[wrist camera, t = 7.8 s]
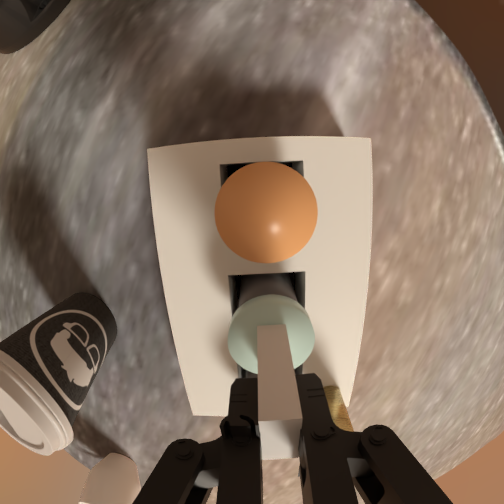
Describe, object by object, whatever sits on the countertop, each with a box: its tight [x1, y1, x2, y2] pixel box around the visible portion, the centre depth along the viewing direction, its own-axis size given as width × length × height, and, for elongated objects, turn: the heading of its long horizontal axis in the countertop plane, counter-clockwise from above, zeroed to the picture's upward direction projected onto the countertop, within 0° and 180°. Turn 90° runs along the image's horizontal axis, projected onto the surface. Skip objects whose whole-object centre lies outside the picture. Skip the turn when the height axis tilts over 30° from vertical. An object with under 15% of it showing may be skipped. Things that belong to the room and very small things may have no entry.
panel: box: [147, 136, 372, 416], centre depth 22 cm, size 22×14×5 cm, turn 3°
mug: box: [79, 453, 141, 504], centre depth 28 cm, size 12×9×12 cm
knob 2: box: [227, 272, 315, 374], centre depth 20 cm, size 5×5×9 cm
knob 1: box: [215, 162, 318, 263], centre depth 18 cm, size 5×5×9 cm
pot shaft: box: [323, 385, 354, 432], centre depth 19 cm, size 2×2×6 cm
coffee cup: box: [0, 293, 117, 455], centre depth 18 cm, size 10×10×15 cm
